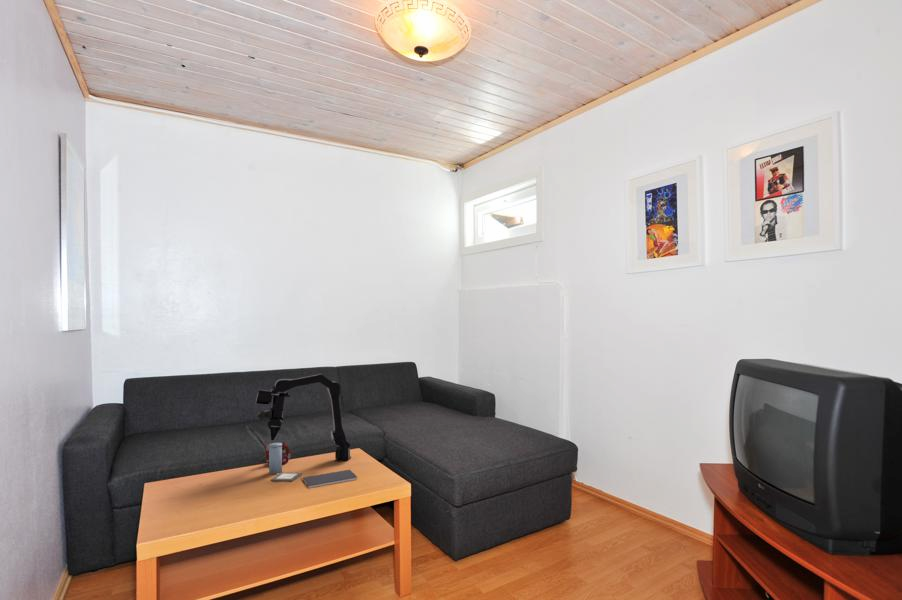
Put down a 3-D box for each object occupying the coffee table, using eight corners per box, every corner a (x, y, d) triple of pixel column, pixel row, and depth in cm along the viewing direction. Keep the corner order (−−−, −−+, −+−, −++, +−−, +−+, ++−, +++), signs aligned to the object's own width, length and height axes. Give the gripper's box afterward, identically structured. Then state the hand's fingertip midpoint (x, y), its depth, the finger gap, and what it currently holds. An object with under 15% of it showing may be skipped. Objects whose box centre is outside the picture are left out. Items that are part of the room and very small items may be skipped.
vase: (284, 470, 219) (284, 442, 220) (278, 474, 213) (278, 445, 214) (272, 470, 220) (272, 442, 220) (266, 474, 214) (266, 445, 214)
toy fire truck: (292, 463, 231) (292, 441, 232) (266, 467, 224) (266, 445, 225) (288, 459, 237) (288, 439, 238) (263, 464, 230) (263, 443, 231)
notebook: (349, 472, 215) (302, 480, 205) (349, 469, 215) (302, 477, 205) (357, 480, 204) (308, 489, 194) (357, 476, 204) (308, 485, 194)
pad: (302, 474, 213) (302, 472, 213) (292, 481, 203) (292, 479, 203) (281, 473, 214) (281, 472, 214) (270, 481, 204) (270, 479, 204)
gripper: (262, 401, 231) (256, 433, 229) (258, 406, 213) (252, 441, 211) (285, 403, 234) (280, 434, 232) (284, 408, 216) (278, 442, 215)
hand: (272, 438), depth 222 cm, fingers open, 9 cm apart
